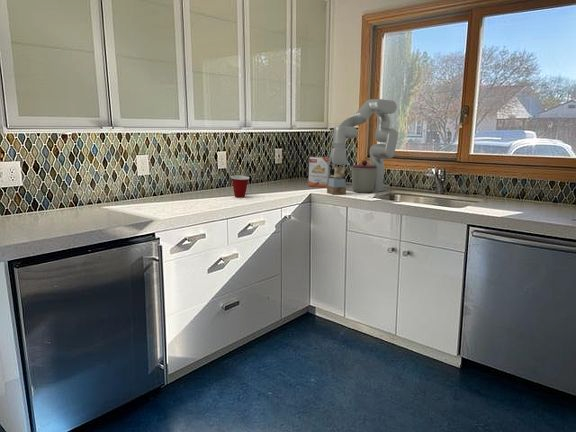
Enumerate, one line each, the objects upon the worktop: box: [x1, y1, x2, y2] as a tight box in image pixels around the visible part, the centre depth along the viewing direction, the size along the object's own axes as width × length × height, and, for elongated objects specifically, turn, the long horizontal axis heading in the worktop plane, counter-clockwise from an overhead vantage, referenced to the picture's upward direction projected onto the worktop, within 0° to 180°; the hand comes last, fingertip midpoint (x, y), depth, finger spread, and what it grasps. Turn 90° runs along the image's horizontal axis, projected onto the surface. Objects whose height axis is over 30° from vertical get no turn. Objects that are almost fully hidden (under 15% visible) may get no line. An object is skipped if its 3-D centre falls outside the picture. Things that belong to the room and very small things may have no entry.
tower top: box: [329, 177, 347, 187], centre depth 280 cm, size 8×8×5 cm
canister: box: [350, 159, 378, 194], centre depth 291 cm, size 18×18×21 cm
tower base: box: [326, 186, 347, 196], centre depth 281 cm, size 9×9×5 cm
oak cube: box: [330, 166, 345, 178], centre depth 278 cm, size 6×6×6 cm
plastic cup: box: [230, 175, 250, 199], centre depth 255 cm, size 11×11×12 cm
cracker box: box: [307, 156, 331, 188], centre depth 312 cm, size 14×6×21 cm, turn 73°
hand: (337, 174), depth 278 cm, fingers closed on oak cube, 6 cm apart
